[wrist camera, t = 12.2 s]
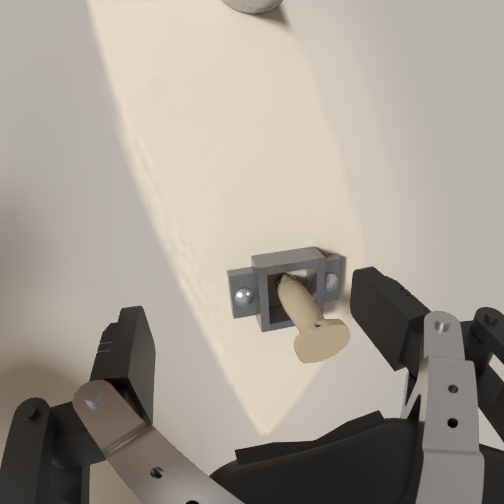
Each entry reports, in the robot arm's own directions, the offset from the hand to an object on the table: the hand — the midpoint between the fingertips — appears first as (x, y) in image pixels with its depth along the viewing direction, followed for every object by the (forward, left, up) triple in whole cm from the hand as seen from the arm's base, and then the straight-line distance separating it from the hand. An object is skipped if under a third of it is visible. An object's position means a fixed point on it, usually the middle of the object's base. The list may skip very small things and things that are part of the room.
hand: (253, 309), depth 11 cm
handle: (+17, +10, -30) cm, 36 cm away
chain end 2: (+17, +12, -30) cm, 36 cm away
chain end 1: (+17, +7, -30) cm, 35 cm away
